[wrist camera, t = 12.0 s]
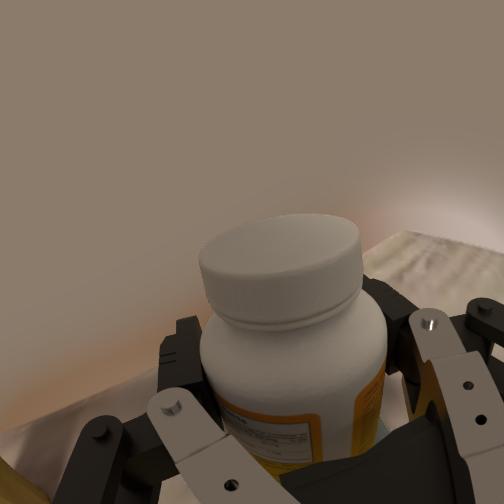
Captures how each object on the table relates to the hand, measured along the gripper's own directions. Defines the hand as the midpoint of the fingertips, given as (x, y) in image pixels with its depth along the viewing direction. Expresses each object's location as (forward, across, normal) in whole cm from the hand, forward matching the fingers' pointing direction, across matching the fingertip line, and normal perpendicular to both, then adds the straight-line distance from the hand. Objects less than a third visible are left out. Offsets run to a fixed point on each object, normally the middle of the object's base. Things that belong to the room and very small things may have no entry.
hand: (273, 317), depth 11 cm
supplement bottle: (-3, 0, +6) cm, 7 cm away
